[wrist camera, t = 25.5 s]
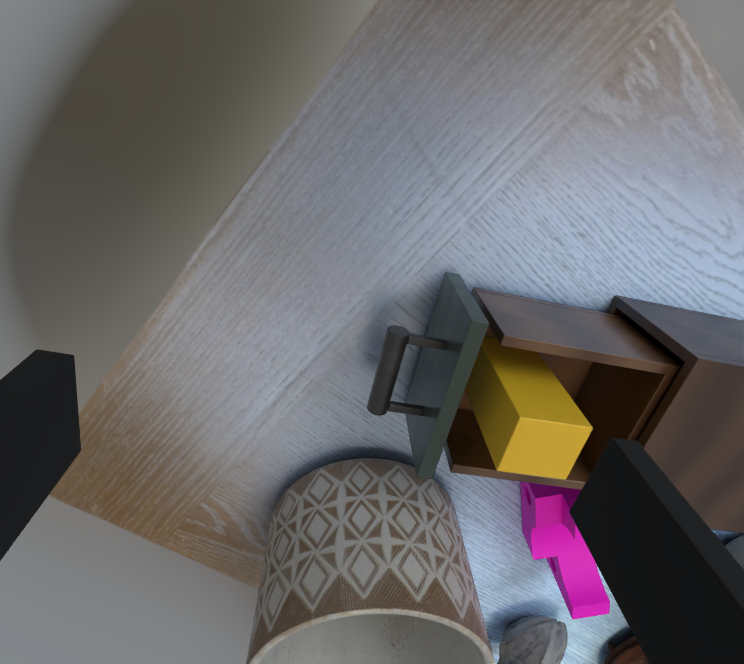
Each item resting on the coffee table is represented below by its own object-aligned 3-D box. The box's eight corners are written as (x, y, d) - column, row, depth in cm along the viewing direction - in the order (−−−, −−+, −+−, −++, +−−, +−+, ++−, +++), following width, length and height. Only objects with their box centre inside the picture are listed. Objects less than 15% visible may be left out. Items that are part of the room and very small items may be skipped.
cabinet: (549, 428, 46) (601, 515, 37) (615, 294, 40) (698, 358, 31) (697, 451, 49) (781, 538, 39) (781, 328, 42) (906, 396, 33)
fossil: (513, 653, 64) (534, 723, 57) (464, 633, 62) (479, 704, 55) (573, 610, 60) (603, 680, 53) (523, 587, 58) (547, 657, 51)
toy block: (519, 464, 48) (547, 524, 42) (580, 454, 48) (618, 512, 41) (524, 558, 55) (548, 623, 49) (576, 550, 55) (608, 613, 48)
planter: (252, 554, 53) (217, 733, 38) (304, 424, 45) (284, 588, 30) (410, 586, 57) (433, 759, 42) (483, 472, 49) (542, 636, 34)
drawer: (356, 399, 42) (359, 469, 35) (391, 260, 37) (404, 307, 29) (558, 430, 45) (602, 501, 38) (621, 306, 39) (688, 359, 32)
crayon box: (476, 334, 39) (520, 417, 29) (532, 344, 39) (594, 428, 30) (460, 379, 41) (496, 471, 31) (514, 388, 41) (566, 480, 32)
